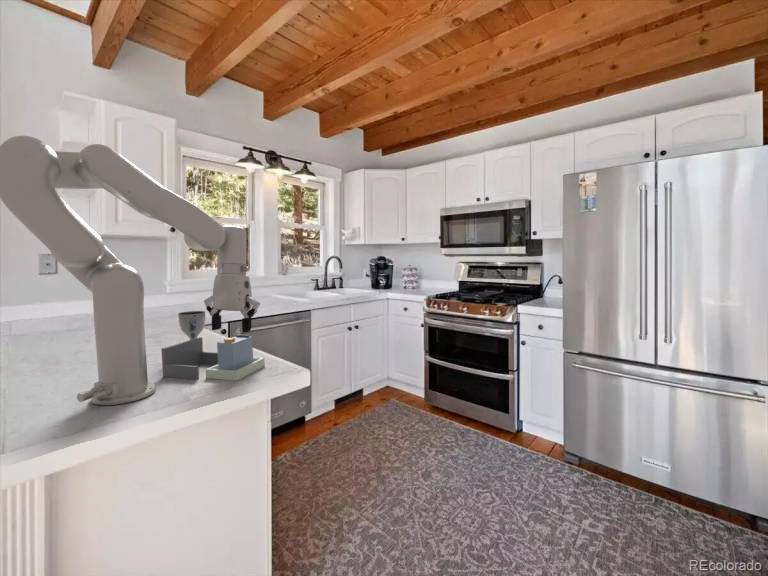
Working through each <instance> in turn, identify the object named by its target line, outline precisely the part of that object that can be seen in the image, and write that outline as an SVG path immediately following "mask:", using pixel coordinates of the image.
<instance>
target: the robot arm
mask: <svg viewBox="0 0 768 576" xmlns="http://www.w3.org/2000/svg"><path fill="white" fill-rule="evenodd" d="M56 189H57V190H58V189H63V190H64V189H65V190H66V189H68V190H69V189H71V190H73V189H76V190H90V189H91V190H96V189H103V190H104V191H106V192H108V193H109V194H111V195H113V196H114V197H115V198H116V199H119V200H120V201H121V202H123V203H124V204H125V205H127V206H128V207H130V208H131V209H132V210H134V211H135V212H137V213H139V214H140V215H143V216H145V217H147V218H150V219H153V220H157V221H160V222H162V223H164V224H166V225H169V226H171V227H172V228H174V229H176V230H177V231H179V232H181V233H182V234H183V240H184V243H185V245H186V246H187V247H188V248H190V249H192V250H194V251H197V252H207V251H217V253H216V254H217V256H216V257H217V260H216V261H217V263H216V267H217V268H216V272H217V273H216V274H215V276H214V279H213V280H214V282H213V288H212V295H210V296H209V297H207V298H205V299H204V300H203V302H204V305H205V309H206V311H207V312H208V313H209V316H210V317H211V330H212V331H216V330H221V329H222V314H221V313H222V312H223V311H231V312H240V313H241V315H242V316H243V318H241V332H242V333H249V332H250V331H251V330H252V318H253V317H254V315H256V313H257V312H258V309H259V308H260V305H261V303H260V301H258V300H257V299H255V298H253V296H252V295H253V294H252V293H253V292H252V285H251V281H250V276H249V275H247V272H250V266H247V231H246V229H245V228H244V227H241V226H237V225H221V223H219V222H218V221H217V220H215V219H214V218H213V217H212V216H211V215H209V214H208V213H207V212H206V211H204V210H203V209H202V208H200V207H198V206H197V205H196V204H194V203H192V202H190V201H189V200H187V199H185V198H183V196H181V195H178V194H177V193H175V192H173V191H172V190H169V189H168V188H166V187H164V186H163V185H162V184H160V183H159V182H158V181H156V180H155V179H153V178H152V177H151V176H150V175H148V174H147V173H145V172H144V171H143V170H141V169H140V168H139V167H137V166H136V165H135V164H134V163H132V162H131V161H129V159H127V158H126V157H124V156H123V155H121V153H119V152H117V151H116V150H115V149H113V148H111V147H110V146H107V145H104V144H102V143H101V144H99V143H94V144H89V145H87V146H85V147H84V148H82V149H81V150H80V151H79V152H76V151H75V152H74V151H73V152H72V151H60V150H59V151H58V150H54V149H52V147H51V146H49V145H48V144H47V143H46V142H45V141H43V140H41V139H38V138H36V137H34V136H29V135H16V136H11V137H10V138H8V139H6V140H5V141H3V142H2V143H1V144H0V200H1V202H2V203H3V204H4V206H5V207H6V208H7V209H8V210H9V212H11V214H12V215H13V216H15V217H16V219H18V220H19V222H21V224H22V225H24V227H25V228H26V229H28V230H29V232H30V233H32V234H33V235H34V236H35V237H36V238H37V239H38V240H39V241H40V242H41V243H42V244H43V245H44V246H45V248H47V249H48V250H49V251H50V253H51V255H52V257H53V258H54V259H55V260H56V261H57V262H58V263H59V264H60V265H62V267H64V269H66V270H67V271H68V272H69V273H70V274H71V275H72V276H73V277H75V278H76V280H78V281H79V282H80V283H81V284H82V285H83V286H84V287H85V288H87V290H88V291H90V292H91V293H92V304H93V305H92V306H93V326H94V337H95V350H96V362H97V363H96V365H97V377H98V381H96V382H93V387H92V388H91V389H90V390H85V391H83V392H79V393H78V394H77V395H76V399H77V401H78V402H79V403H82V402H85V401H87V400H88V401H89V400H91V403H92V404H94V405H99V406H112V405H113V406H114V405H116V406H117V405H122V404H127V403H128V404H129V403H131V402H135V401H139V400H141V399H145V398H147V397H149V396H151V395H153V394H154V393H155V392H156V391H157V390H156V389H157V387H156V384H154V383H153V382H149V378H148V376H149V375H148V363H147V362H148V360H147V349H146V348H147V347H146V345H147V344H146V334H145V333H146V330H145V316H144V315H145V313H144V305H145V304H144V299H145V285H144V281H143V278H142V277H141V274H140V273H139V272H138V271H137V270H136V269H135V268H133V267H132V266H130V265H127V264H124V263H123V262H122V261H121V260H120V259H118V257H116V255H115V254H114V253H113V252H111V250H110V249H109V248H108V247H107V245H105V242H104V240H103V238H102V237H101V235H100V234H99V233H98V232H96V231H95V230H94V229H92V227H90V226H89V225H88V224H87V223H86V222H85V220H83V219H82V218H81V217H80V216H79V215H78V214H77V213H76V212H75V211H74V210H73V209H72V208H71V207H70V205H69V204H68V203H67V202H66V201H65V200H64V199H63V198H62V197H61V196H60V195H59V192H58V191H57V190H56Z"/></svg>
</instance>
